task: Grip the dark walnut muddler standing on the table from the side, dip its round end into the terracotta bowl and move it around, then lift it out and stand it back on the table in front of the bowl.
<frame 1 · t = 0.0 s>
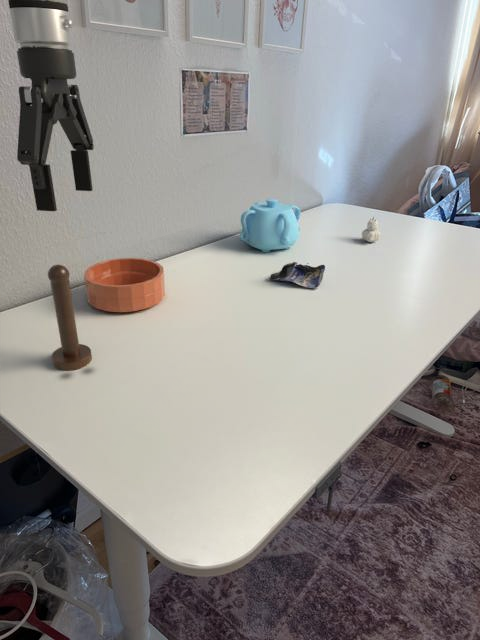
hand: (67, 199, 77), 26 cm above the table, tool pointing down, fingers open, 13 cm apart
muddler: (72, 360, 83), on the table
snack package: (295, 282, 117), on the table
decorative pot: (269, 246, 140), on the table
cream small figurine: (369, 242, 145), on the table
bowl: (127, 298, 106), on the table
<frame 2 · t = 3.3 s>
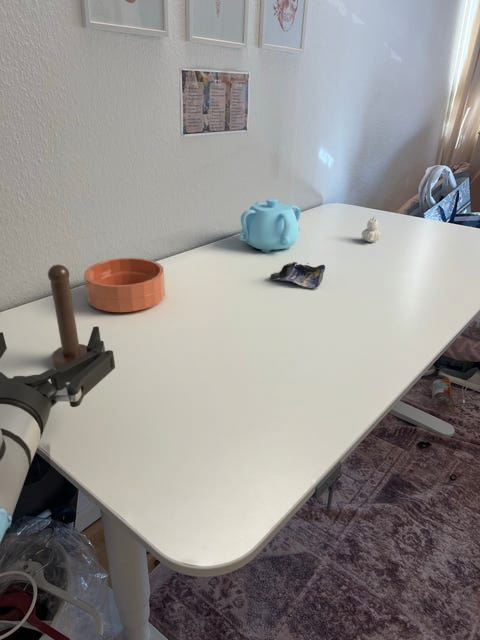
hand: (50, 337, 71), 10 cm above the table, tool horizontal, fingers open, 13 cm apart
nothing on the table moved.
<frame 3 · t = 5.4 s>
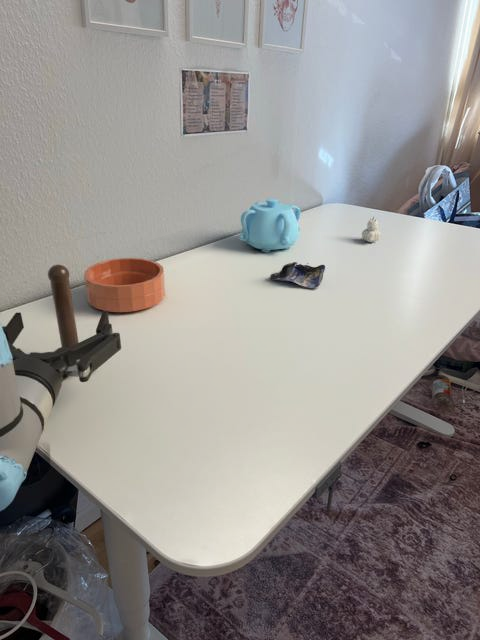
hand: (63, 318, 78), 9 cm above the table, tool horizontal, fingers open, 13 cm apart
nothing on the table moved.
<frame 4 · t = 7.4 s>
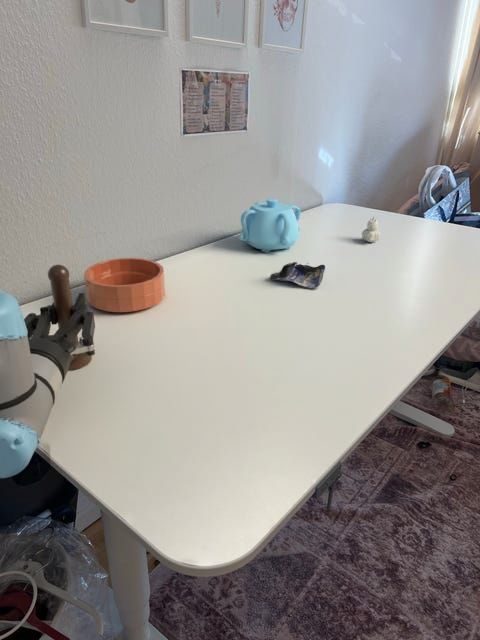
hand: (72, 300, 84), 9 cm above the table, tool horizontal, fingers closed on muddler, 3 cm apart
muddler: (72, 360, 83), on the table, touching gripper
everything else where it was.
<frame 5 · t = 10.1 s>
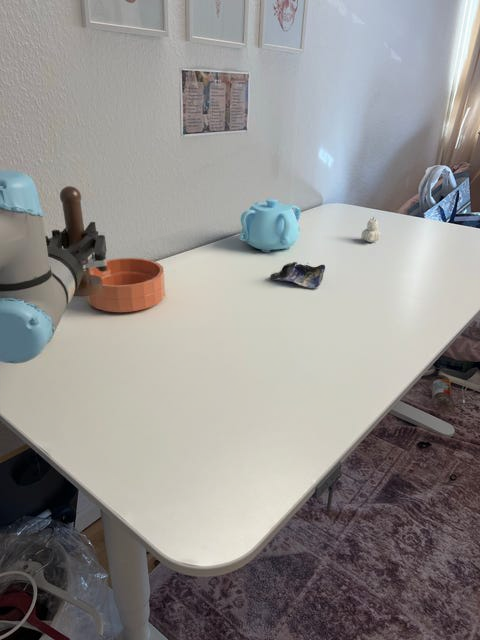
hand: (83, 229, 84), 20 cm above the table, tool horizontal, fingers closed on muddler, 3 cm apart
muddler: (83, 289, 83), point 11 cm above the table, touching gripper
everything else where it was.
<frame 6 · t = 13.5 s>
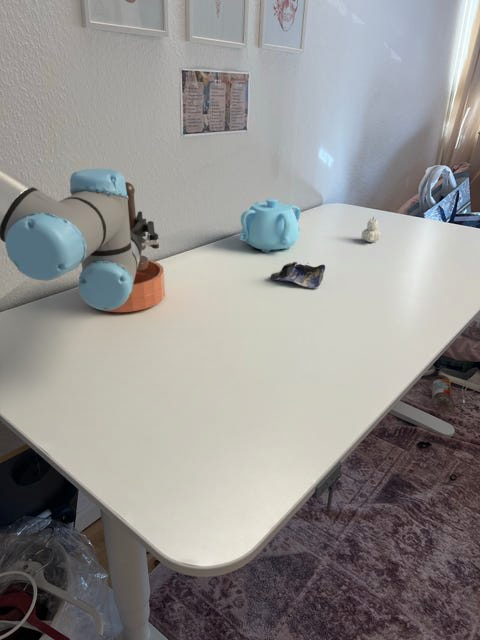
hand: (132, 217, 103), 17 cm above the table, tool horizontal, fingers closed on muddler, 3 cm apart
muddler: (133, 266, 102), point 8 cm above the table, touching gripper
everything else where it was.
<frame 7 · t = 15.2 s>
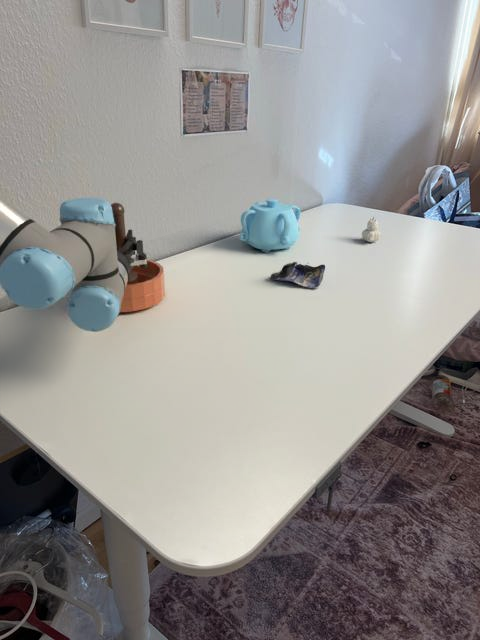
hand: (122, 235, 106), 12 cm above the table, tool horizontal, fingers closed on muddler, 3 cm apart
muddler: (123, 282, 105), point 3 cm above the table, touching gripper
everything else where it was.
when the fingers open (9 cm above the table, at t = 23.8 s): muddler stays where it is, on the table.
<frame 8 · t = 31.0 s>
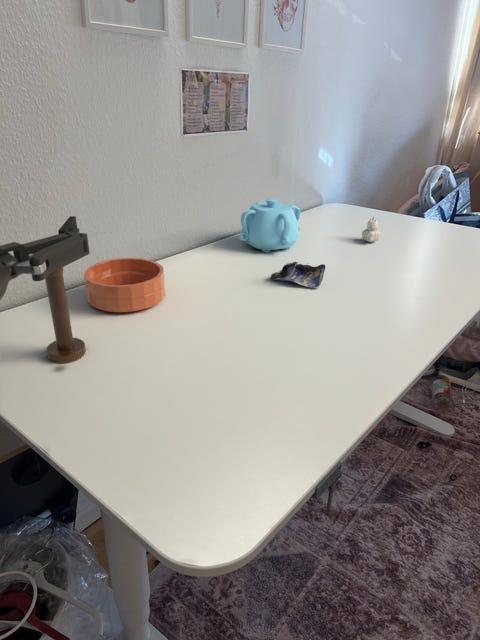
hand: (22, 226, 64), 26 cm above the table, tool horizontal, fingers open, 13 cm apart
muddler: (67, 353, 85), on the table
everything else where it was.
at the end: muddler inside the target area on the table beside the bowl (0.1 cm from its centre), on the table; muddler tilted 0°; the gripper is holding nothing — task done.
